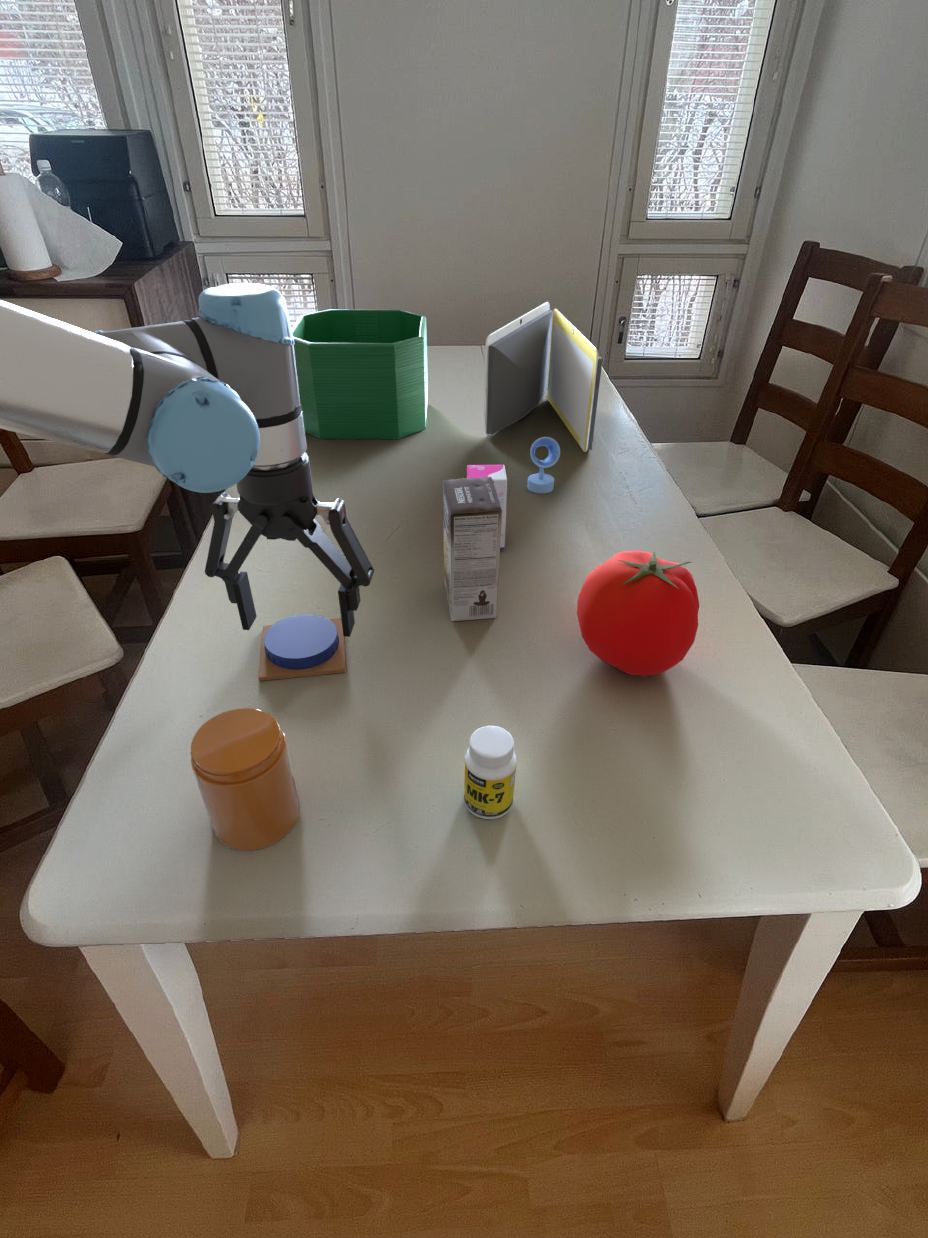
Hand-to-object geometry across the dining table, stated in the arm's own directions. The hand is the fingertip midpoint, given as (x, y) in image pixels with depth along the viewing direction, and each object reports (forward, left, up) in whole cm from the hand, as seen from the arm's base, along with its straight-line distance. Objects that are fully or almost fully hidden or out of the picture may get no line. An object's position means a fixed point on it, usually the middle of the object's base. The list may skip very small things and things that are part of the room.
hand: (299, 626), depth 83 cm
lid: (0, 0, -2) cm, 2 cm away
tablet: (+45, +68, -4) cm, 82 cm away
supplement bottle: (+18, -26, -4) cm, 32 cm away
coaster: (0, 0, -4) cm, 4 cm away
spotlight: (+40, +38, -4) cm, 55 cm away
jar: (-4, -24, -4) cm, 25 cm away
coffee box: (+22, +7, -4) cm, 23 cm away
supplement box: (+27, +22, -4) cm, 35 cm away
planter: (+12, +77, -4) cm, 78 cm away
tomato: (+39, -7, -4) cm, 40 cm away
